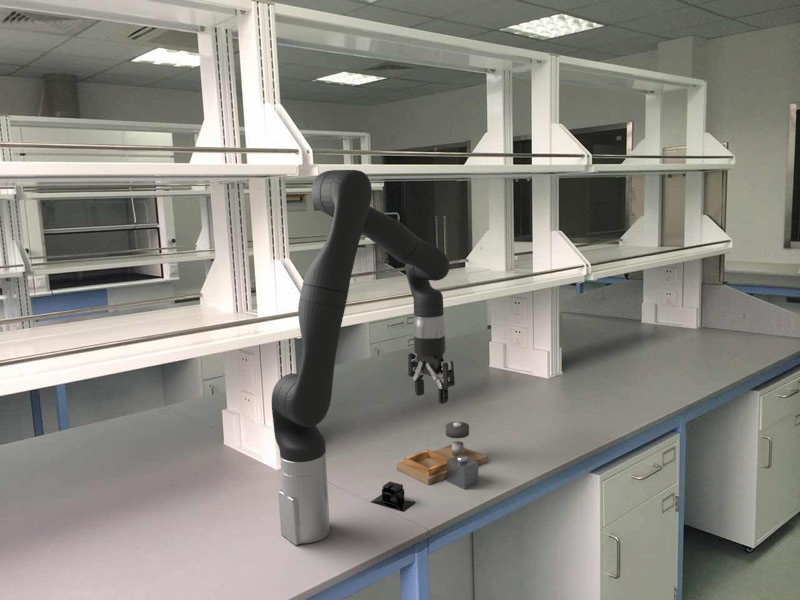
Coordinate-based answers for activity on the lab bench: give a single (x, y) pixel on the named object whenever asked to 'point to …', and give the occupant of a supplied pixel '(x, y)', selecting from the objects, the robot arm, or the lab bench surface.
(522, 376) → the lab bench surface
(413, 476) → the wooden base board
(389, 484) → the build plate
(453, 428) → the wheel
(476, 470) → the grey box with knob
